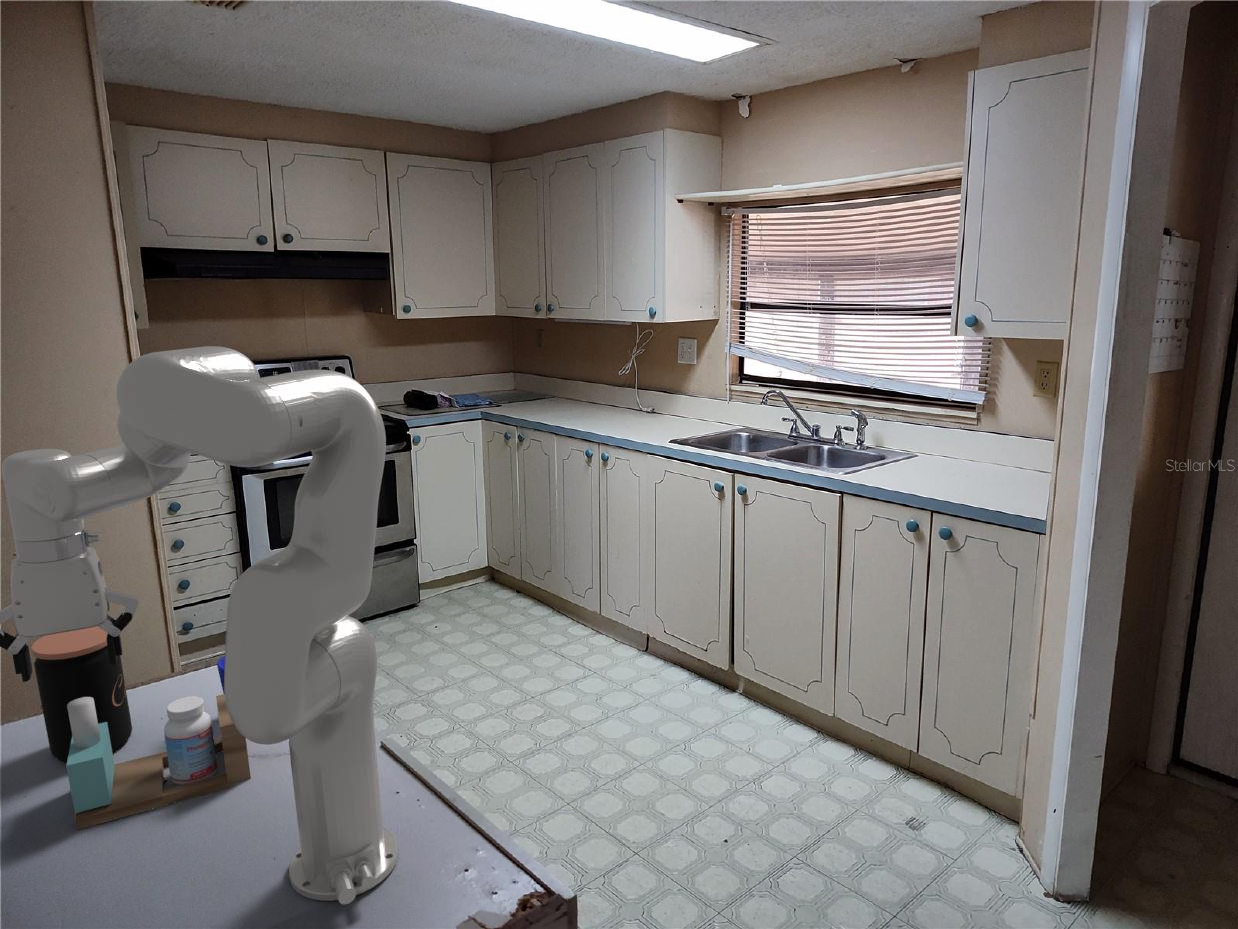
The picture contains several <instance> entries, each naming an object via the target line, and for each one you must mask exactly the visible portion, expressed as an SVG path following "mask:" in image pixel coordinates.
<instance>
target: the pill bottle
mask: <svg viewBox="0 0 1238 929" xmlns="http://www.w3.org/2000/svg"><path fill="white" fill-rule="evenodd" d="M204 705H205V704H204V699H203V698H201V696H195V695H192V696H186V697H181V698H178V699H175V700H172V702H170V703H169V704H168V705H167V707H166V716H167V718H168V720H167V722H165V725H164V728H163V734H164V740H165V742H164V743H165V746H166V747H165V749H166V751H167V756H168V763H169V765H168V768H169V769H168V770H169V775H170V780H171V782H172V783H174V784H175V785H177V786H180V785H184V784H188V783H192V782H195V781H199V780H203V779H207V778H210V777H214V775H215V773H216V772H217V770H218V768H219V766H218V759H217V753H216V750H215V743H214V740H215V736H214V728H213V721H212V718H211V716H210V714H209V713H207V712H205V706H204Z"/></svg>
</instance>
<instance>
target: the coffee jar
mask: <svg viewBox="0 0 1238 929" xmlns="http://www.w3.org/2000/svg"><path fill="white" fill-rule="evenodd" d="M30 651H31V653H32V655H33V657H35V658H36V659H35V660H34V663H33V666H34V667H33V668H34V671H35V672H34V673H35V676H36V683H37V688H38V692H39V698H40V702H41V703H40V704H41V709H42V714H43V718H44V720H43V721H44V723H45V730H46V735H47V741H48V746H49V750H50V753H51V755H52V756H53V758H55V759H57V760H58V761H60V762H61V763H62V764H67V760H68V755H69V750H70V745H71V740H72V730H71V724H70V719H69V713H68V708H67V705H68V703H69V702H71V701H73V700H75V699H78V698H82V697H92V698H93V699H94V704H95V710H96V715H97V721H98V724H100V723H104V722H107V724H108V730H109V736H110V742H111V748H112V754H113V755H114V754H115V753H117V752H118V751H119V750H122V748H123V747H125V745H127V743H128V741H129V738H130V737H131V736H132V731H133V725H132V718H131V712H130V707H129V701H128V694H127V688H126V683H125V682H126V681H125V675H124V670H123V663H122V656H121V655H120V656H117V665H110V660H109V653H108V647H107V632H105V631H104V630H102V629H101V628H99V627H98V626H96V627H91V628H86V629H80V630H75V631H69V632H63V633H57V634H51V635H44V636H41V637H39V639H37V640H36V641H34V642H33V643H32V646H31V648H30Z"/></svg>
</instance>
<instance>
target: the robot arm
mask: <svg viewBox="0 0 1238 929" xmlns="http://www.w3.org/2000/svg"><path fill="white" fill-rule="evenodd" d="M115 394H116V395H115V396H116V401H117V406H118V408H119V411H120V412H119V413H118V417H117V421H116V423H117V431H118V435H119V437H120V439H121V441H122V443H123V444H121V445H118V446H114V447H108V448H104V449H103V448H102V449H98V450H95V451H90V452H86V453H82V454H81V453H80V454H77V455H71V453H69V452H68V451H66V450H63V449H59V448H40V449H39V448H38V449H31V450H24V451H23V450H22V451H20V452H15V453H13V454H11V455H9V456H7V457H6V458H5V459H3V462H2V464H1V473H2V479H3V485H4V491H5V496H6V497H5V498H6V503H7V508H8V513H9V519H10V525H11V529H12V530H11V531H12V536H13V543H14V548H15V553H16V554H15V555H16V557H14V558H13V559H12V561H11V566H10V599H11V604H9V605H7V606H6V607H3V608H1V610H0V625H1V624H2V623H4V622H7V621H8V620H10V619H11V618H13V619H12V620H13V624H14V625H13V626H14V630H15V633H16V634H15V635H12V634H10V633H8V632H6V631H4V630H2V629H1V628H0V648H2V649H4V650H6V651H7V653H8V654H10V655H12V659H13V666H14V671H15V674H16V675H21V681H22V683H25V682H29V681H30V680H31V677H32V674H33V665H32V664H33V663H32V660H31V653H30V648H29V645H27V642H28V641H29V639H30V638H37V637H44V636H46V635H51V634H57V633H63V632H69V631H75V630H80V629H86V628H91V627H96V626H98V627H99V628H101V629H102V630H104V631H105V632H107V647H108V653H109V660H110V665H117V656H120V657H121V656H123V647H122V640H121V639H122V638H121V633H122V631H123V630H124V629H125V628H126V627H127V626H128V625H129V623H131V621H133V618H134V615H135V613H136V611H137V608H138V606H139V604H140V598H139V597H138V596H135V595H132V594H128V593H123V592H120V591H116V590H112V589H108V588H107V584H106V580H105V576H104V572H103V567H102V564H101V562H100V558H99V556H98V552H97V551H96V549H95V548H94V547H91V544H92V545H93V544H95V543H100V541H101V539H100V534H99V531H95V532H93V531H89V530H88V529H86V526H85V523H84V519H85V518H89V517H92V516H96V515H100V514H102V513H105V512H108V511H112V510H114V509H118V508H121V507H125V506H127V505H131V504H134V503H139V502H141V501H143V500H145V499H148V498H150V497H152V496H153V495H155V494H157V493H158V492H160V491H161V490H163V489H164V488H166V487H167V486H168V485H170V484H172V482H174V481H176V480H177V479H179V477H181V476H182V475H183V474H184V473H185V471H186V470H187V468H188V465H189V462H190V458H191V454H195V455H198V456H201V457H204V458H207V459H209V460H212V461H215V462H218V463H221V464H226V465H229V466H233V467H241V468H253V467H254V468H255V467H260V466H265V465H269V464H272V463H275V462H280V461H283V460H286V459H289V458H292V457H295V456H299V455H301V454H304V453H309V452H311V455H312V457H311V460H310V462H309V465H308V468H307V469H306V470H305V473H304V475H303V477H302V478H301V479H302V480H301V482H300V483H299V487H298V489H297V493H296V497H295V501H294V521H293V530H292V533H291V534H292V535H291V537H290V538H291V539H290V541H289V543H288V545H287V546H286V547H285V548H284V549H282V550H280V551H279V552H277V553H274V554H272V555H269V556H268V557H265V558H263V559H262V560H259V561H258V562H256V563H254V564H253V565H251V566H250V567H248V568H247V569H246V570H244V572H243V573H242V574H240V576H239V577H238V578H237V580H236V581H235V584H234V585H233V587H232V589H231V592H230V595H229V598H228V602H227V609H226V610H227V611H226V625H225V626H226V628H225V648H224V649H225V650H224V651H225V652H224V656H225V673H224V693H225V702H226V707H227V711H228V714H229V716H230V719H231V721H232V723H233V724H234V726H235V727H236V729H237V730H238V731H239V732H240V733H241V735H243V736H244V737H245V738H246V740H248V741H251V743H255V744H259V745H265V746H267V745H274V744H275V745H276V744H279V743H282V742H286V741H288V746H289V757H290V768H291V777H292V786H293V794H294V803H295V811H296V818H297V820H296V821H297V826H298V828H297V829H298V837H299V846H300V847H299V848H298V850H296V852H295V853H294V854H293V856H292V858H291V860H290V863H289V868H288V869H289V871H288V873H289V874H288V875H289V881H290V883H291V886H292V888H293V889H294V890H295V891H296V892H297V894H299V895H301V896H303V897H306V898H307V899H311V900H315V901H323V902H324V901H325V902H327V901H330V902H331V901H338V902H339V903H340V904H341V905H347V904H350V903H352V902H353V901H354V900H355V899H356V896H357V895H358V896H359V895H360V894H363V893H365V892H367V891H369V890H371V889H372V888H375V886H377V885H379V884H380V883H382V882H383V881H384V880H385V879H386V878H387V877H388V876H389V875H390V874H391V873H392V871H393V869H394V868H395V866H396V864H397V862H398V858H399V845H398V841H397V838H396V836H395V835H394V834H393V832H391V831H390V830H389V829H387V828H386V827H384V822H383V812H382V800H381V790H380V779H379V768H378V767H379V766H378V756H377V755H378V754H377V745H376V744H377V742H376V731H375V729H376V728H375V718H374V717H375V715H374V714H375V713H374V710H375V709H374V703H375V702H374V700H375V689H376V688H375V687H376V679H377V669H378V667H377V666H378V665H377V664H378V656H377V648H376V644H375V641H374V639H373V637H372V636H373V635H371V634H372V633H371V632H370V631H369V630H368V628H367V627H366V626H365V625H364V624H363V623H362V622H361V621H360V620H358V619H356V618H354V617H353V616H350V615H351V614H352V613H354V612H355V611H357V610H358V609H359V608H360V607H361V606H362V605H363V604H364V602H366V600H367V598H368V596H369V594H370V590H371V586H372V579H373V569H374V568H373V567H374V556H375V547H376V538H377V537H376V536H377V535H376V534H377V525H378V508H379V499H380V492H381V487H382V486H381V485H382V482H383V481H382V479H383V475H384V468H385V463H386V462H385V460H386V453H387V452H386V451H387V443H386V442H387V436H386V429H385V423H384V421H383V417H382V415H381V412H380V409H379V408H378V405H377V404H376V402H375V400H374V399H373V397H372V396H371V394H370V393H369V391H368V390H366V388H364V387H363V386H362V384H360V382H358V381H357V380H355V379H354V378H352V377H351V376H349V375H346V374H345V373H342V372H339V371H334V370H330V369H329V370H328V369H306V370H298V371H291V372H285V373H280V374H276V375H269V376H264V377H261V376H260V373H259V370H258V368H257V366H256V365H255V363H254V362H253V361H251V360H250V358H249V357H247V356H246V355H245V354H243V353H241V352H240V351H238V350H235V349H232V348H230V347H226V346H217V345H216V346H211V345H210V346H209V345H208V346H196V347H189V348H181V349H179V348H178V349H173V350H171V349H170V350H163V351H161V350H160V351H153V352H150V353H147V354H143V355H141V356H139V357H136V358H134V360H133V361H131V362H130V363H129V364H128V365H127V366H126V367H125V368H124V369H123V371H122V372H121V375H120V376H119V379H118V381H117V385H116V393H115ZM110 603H112V604H116V605H120V606H124V610H123V612H122V613H120V614H119V615H118V617H117V618H116V617H114V616H113V615H111V614H109V613H108V612H109V611H110ZM224 693H223V694H224Z"/></svg>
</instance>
